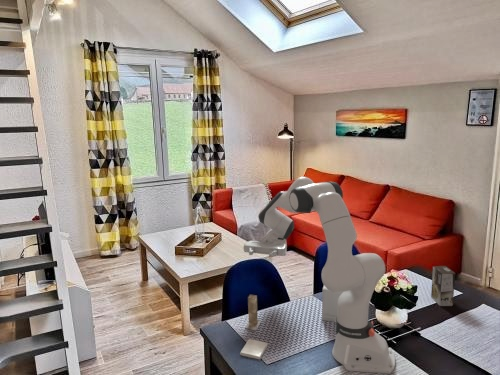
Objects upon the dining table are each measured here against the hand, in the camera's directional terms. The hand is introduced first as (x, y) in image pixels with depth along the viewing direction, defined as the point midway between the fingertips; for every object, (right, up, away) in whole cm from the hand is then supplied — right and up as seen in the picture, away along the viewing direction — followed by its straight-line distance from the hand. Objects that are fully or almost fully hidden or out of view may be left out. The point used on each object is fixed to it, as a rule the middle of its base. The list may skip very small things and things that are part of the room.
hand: (260, 254), depth 169 cm
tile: (-1, -32, -18) cm, 37 cm away
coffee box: (+86, -24, +10) cm, 90 cm away
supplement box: (+33, -28, 0) cm, 43 cm away
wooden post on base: (-3, -30, -5) cm, 31 cm away
